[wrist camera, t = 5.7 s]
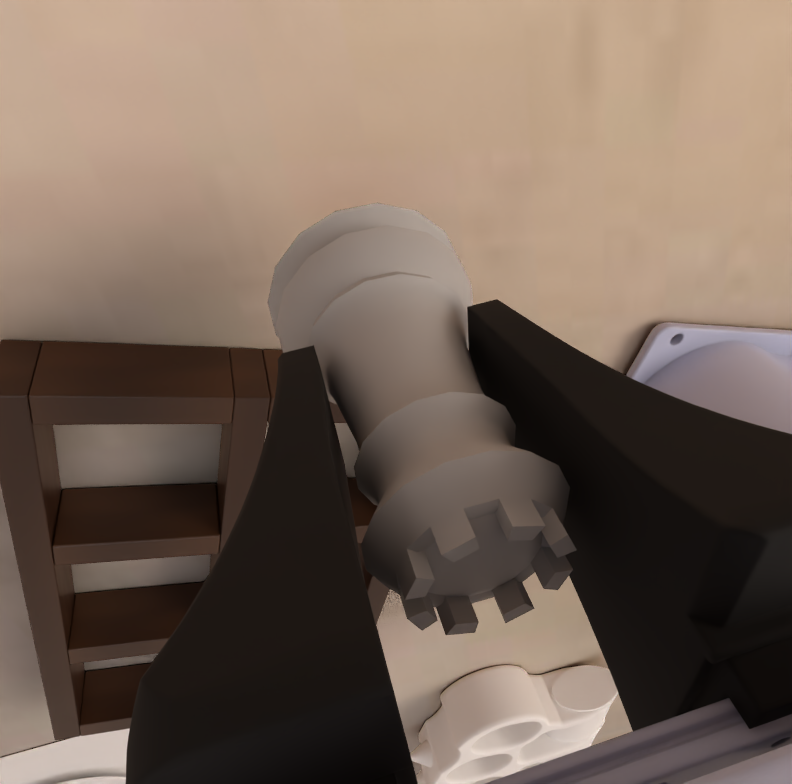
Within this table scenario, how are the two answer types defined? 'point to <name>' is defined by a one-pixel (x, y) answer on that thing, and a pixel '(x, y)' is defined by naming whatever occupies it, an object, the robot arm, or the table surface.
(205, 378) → the rack
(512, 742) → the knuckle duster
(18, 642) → the table surface
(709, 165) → the table surface
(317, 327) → the rook chess piece
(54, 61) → the table surface
